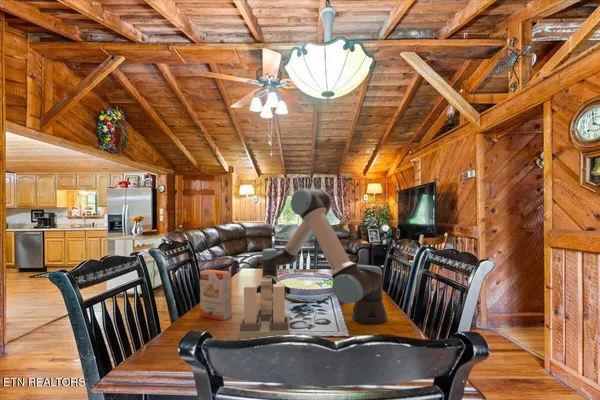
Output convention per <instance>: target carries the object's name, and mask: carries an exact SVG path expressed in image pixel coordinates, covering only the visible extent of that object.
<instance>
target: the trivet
mask: <svg viewBox="0 0 600 400" xmlns="http://www.w3.org/2000/svg"><path fill="white" fill-rule="evenodd" d="M286 299H287V301H288V302H292V303H298V304H312V303H313V302H308V303H307V302H305V301H300V300H295V299H292V298H289V297H287V296H286V295H285V300H286ZM327 300H329V298H327V299H324V300H322V301H321V302H325V301H327ZM321 302H320V301H316V303H321ZM313 304H314V303H313Z"/></svg>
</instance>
